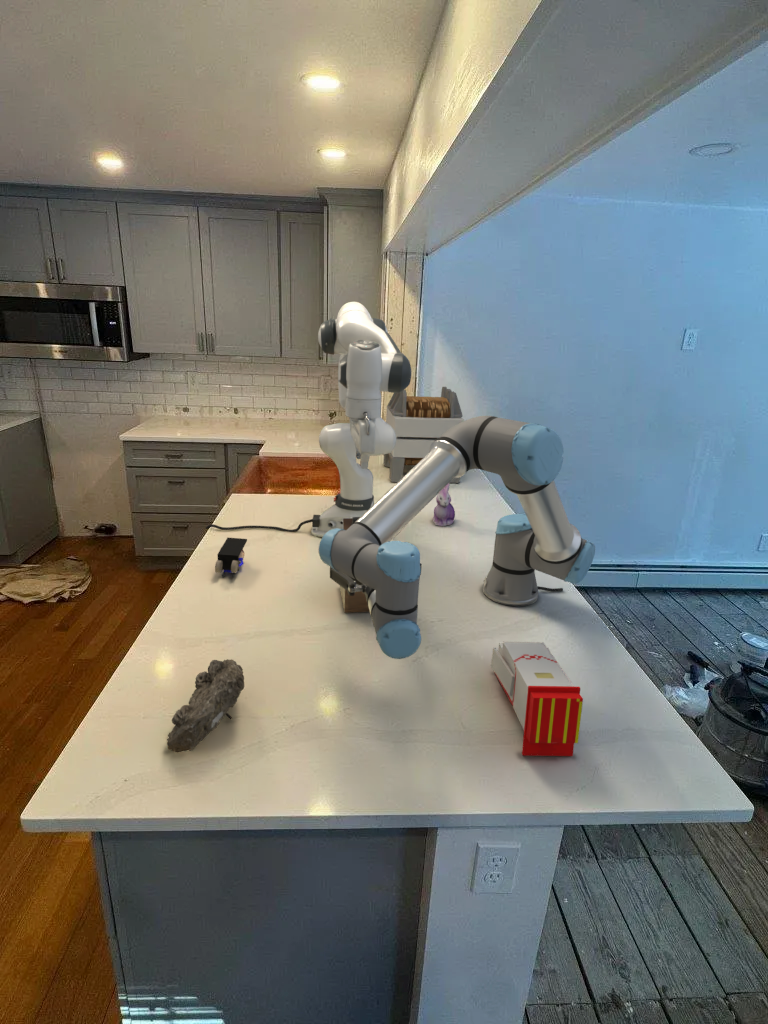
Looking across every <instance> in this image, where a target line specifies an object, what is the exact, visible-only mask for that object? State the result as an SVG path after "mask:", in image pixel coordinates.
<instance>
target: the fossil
mask: <svg viewBox="0 0 768 1024" xmlns="http://www.w3.org/2000/svg"><path fill="white" fill-rule="evenodd" d="M243 670H244V669H243V667H242V665H240V664H237V662H236V661H235V660H234V659H232V658H231V659H227V658H226V659H224V660H223V661H222V660H217V659H212V660H211V661H210V663H209V665H208V666H207V671H201V672H199V673H198V674H197V675H196V676H195V680H194V684H195V685H194V687H195V689H194V690H193V693H192V694H191V697H190V698H189V700H188V704H184V705H182V706H181V707H180V709H177V710H176V711H175V713H174V715H173V716H172V718H171V723H172V724H173V727H172V730H171V731H170V732H168V734H167V738H166V741H167V742H166V745H167V749H168V750H169V751H173V752H174V753H176V754H178V753H182V752H188V751H189V752H192V751H193V750H195V748H196V747H197V746H199V744H200V743H201V742H203V741H204V740H205V739H206V738H207V737H208V736H209V735H210V734H211V733H212V732H214V730H215V729H217V727H218V726H219V724H220V722H221V721H222V720H223V719H224V718H225V716H226V717H227V719H229V720H233V717H232V715H230V714H229V710H230V709H231V708H234V706H235V704H236V703H237V702H238V699H239V697H240V695H241V693H242V691H243V690H245V689H244V688H245V675H244V671H243Z"/></svg>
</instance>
